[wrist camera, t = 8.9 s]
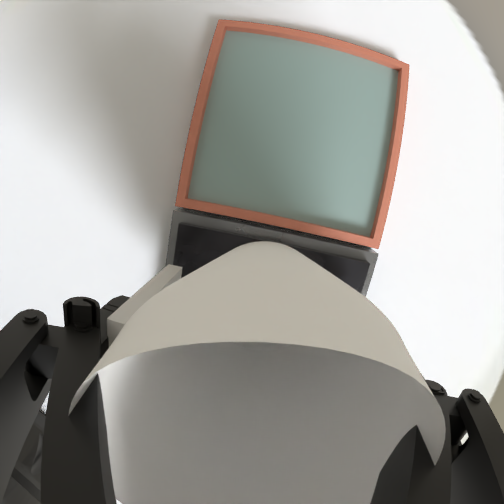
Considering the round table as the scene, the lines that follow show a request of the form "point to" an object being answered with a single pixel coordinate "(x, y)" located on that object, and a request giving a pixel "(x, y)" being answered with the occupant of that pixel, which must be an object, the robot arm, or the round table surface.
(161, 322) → the cup
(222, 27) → the print frame
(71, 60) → the round table surface
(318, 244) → the ink pad
